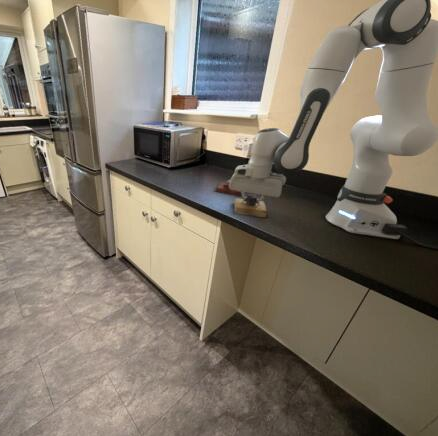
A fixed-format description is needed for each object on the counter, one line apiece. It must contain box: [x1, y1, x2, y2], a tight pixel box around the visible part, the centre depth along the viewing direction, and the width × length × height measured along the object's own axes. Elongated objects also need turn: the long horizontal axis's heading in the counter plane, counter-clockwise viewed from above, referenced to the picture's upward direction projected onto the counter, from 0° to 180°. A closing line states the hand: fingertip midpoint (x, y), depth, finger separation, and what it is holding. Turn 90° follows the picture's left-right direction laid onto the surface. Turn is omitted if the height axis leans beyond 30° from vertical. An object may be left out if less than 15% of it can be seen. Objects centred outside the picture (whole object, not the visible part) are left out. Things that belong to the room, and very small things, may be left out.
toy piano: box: [215, 180, 242, 197], centre depth 122 cm, size 12×10×4 cm
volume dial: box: [246, 194, 258, 206], centre depth 100 cm, size 4×4×4 cm
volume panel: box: [233, 197, 268, 218], centre depth 101 cm, size 12×10×3 cm
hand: (250, 202), depth 100 cm, fingers closed on volume dial, 4 cm apart
